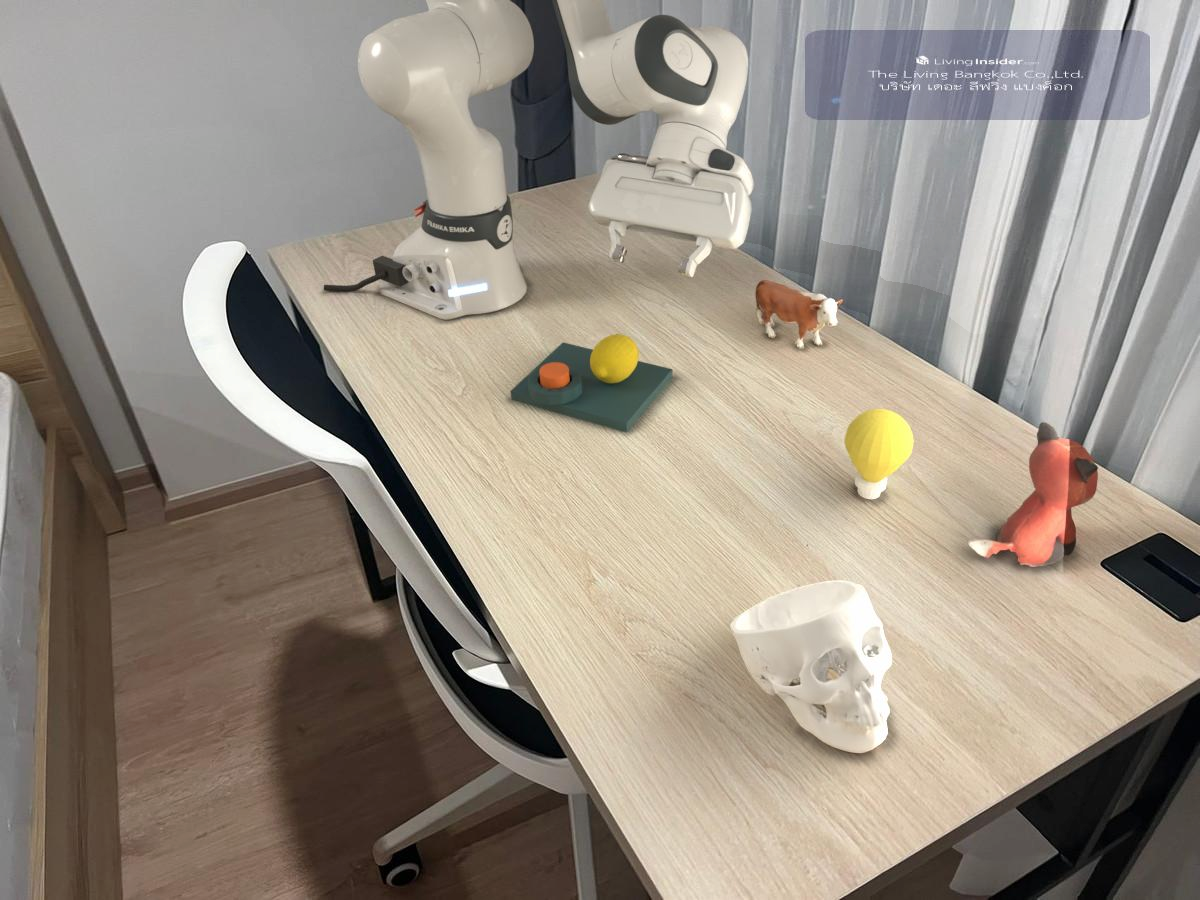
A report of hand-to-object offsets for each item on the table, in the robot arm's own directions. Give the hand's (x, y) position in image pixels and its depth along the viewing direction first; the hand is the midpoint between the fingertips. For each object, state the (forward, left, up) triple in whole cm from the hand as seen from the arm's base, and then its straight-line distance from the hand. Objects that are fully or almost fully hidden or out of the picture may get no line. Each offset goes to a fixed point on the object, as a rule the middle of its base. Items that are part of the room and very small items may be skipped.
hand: (649, 267), depth 110 cm
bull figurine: (+16, +13, -13) cm, 24 cm away
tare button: (-7, -13, -11) cm, 18 cm away
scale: (-3, -9, -13) cm, 16 cm away
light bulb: (+33, -14, -13) cm, 38 cm away
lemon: (-1, -12, -9) cm, 15 cm away
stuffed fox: (+48, -16, -13) cm, 52 cm away
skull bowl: (+35, -41, -13) cm, 55 cm away
